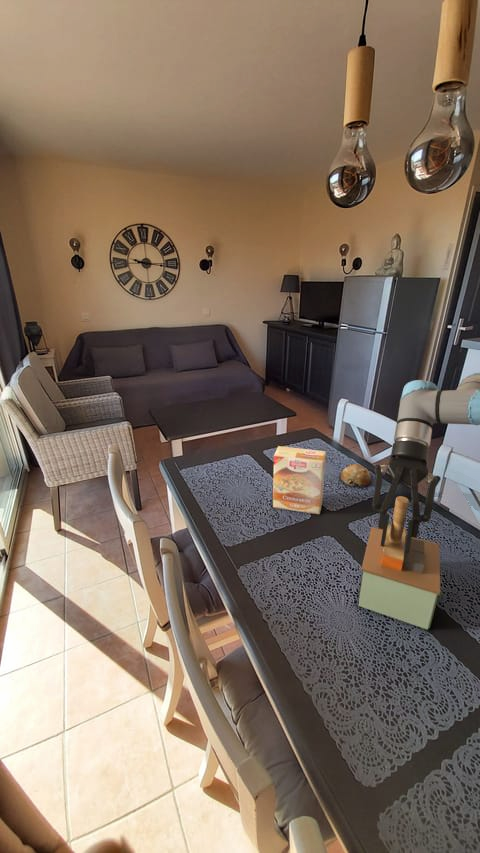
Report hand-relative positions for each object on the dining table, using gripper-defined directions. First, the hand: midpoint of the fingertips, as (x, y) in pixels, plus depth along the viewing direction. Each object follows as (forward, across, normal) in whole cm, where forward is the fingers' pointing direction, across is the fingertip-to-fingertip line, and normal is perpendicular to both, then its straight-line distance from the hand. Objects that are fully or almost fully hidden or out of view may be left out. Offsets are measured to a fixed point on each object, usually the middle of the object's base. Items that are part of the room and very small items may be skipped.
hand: (394, 548), depth 75 cm
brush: (0, 0, -6) cm, 6 cm away
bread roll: (-24, +15, -48) cm, 56 cm away
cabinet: (+9, -2, -14) cm, 17 cm away
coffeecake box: (-8, +29, -31) cm, 44 cm away
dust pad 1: (-1, -4, -7) cm, 8 cm away
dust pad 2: (+2, -4, -4) cm, 6 cm away
